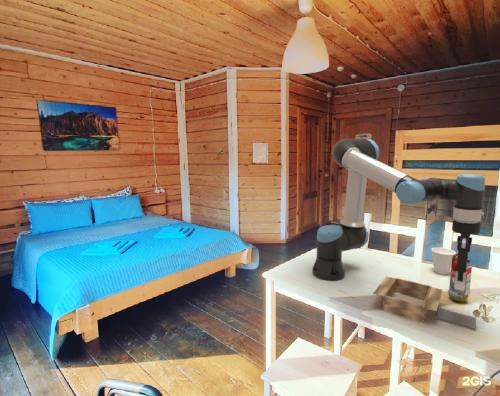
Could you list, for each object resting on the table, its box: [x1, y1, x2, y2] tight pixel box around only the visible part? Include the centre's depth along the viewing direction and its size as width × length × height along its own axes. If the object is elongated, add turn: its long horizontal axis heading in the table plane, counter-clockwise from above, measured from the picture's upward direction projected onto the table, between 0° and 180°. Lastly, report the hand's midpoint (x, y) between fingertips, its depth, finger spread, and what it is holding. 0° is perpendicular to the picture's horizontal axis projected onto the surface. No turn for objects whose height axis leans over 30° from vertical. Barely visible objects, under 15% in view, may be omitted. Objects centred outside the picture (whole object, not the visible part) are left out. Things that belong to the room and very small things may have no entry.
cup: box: [430, 247, 457, 276], centre depth 140 cm, size 10×10×11 cm
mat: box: [436, 307, 477, 331], centre depth 102 cm, size 11×8×1 cm
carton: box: [372, 275, 443, 323], centre depth 112 cm, size 20×19×6 cm
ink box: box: [448, 253, 473, 300], centre depth 100 cm, size 4×8×15 cm, turn 123°
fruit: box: [447, 289, 470, 303], centre depth 114 cm, size 6×6×12 cm
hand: (460, 284), depth 100 cm, fingers closed on ink box, 8 cm apart
